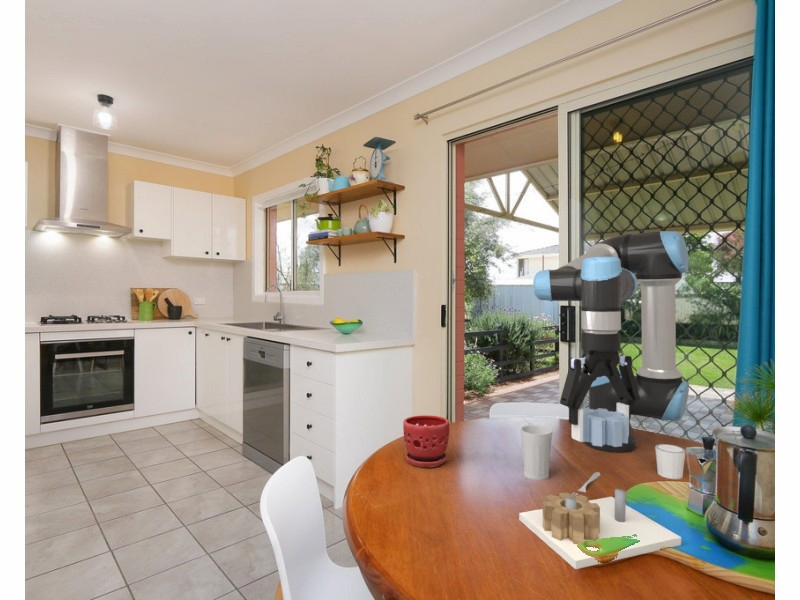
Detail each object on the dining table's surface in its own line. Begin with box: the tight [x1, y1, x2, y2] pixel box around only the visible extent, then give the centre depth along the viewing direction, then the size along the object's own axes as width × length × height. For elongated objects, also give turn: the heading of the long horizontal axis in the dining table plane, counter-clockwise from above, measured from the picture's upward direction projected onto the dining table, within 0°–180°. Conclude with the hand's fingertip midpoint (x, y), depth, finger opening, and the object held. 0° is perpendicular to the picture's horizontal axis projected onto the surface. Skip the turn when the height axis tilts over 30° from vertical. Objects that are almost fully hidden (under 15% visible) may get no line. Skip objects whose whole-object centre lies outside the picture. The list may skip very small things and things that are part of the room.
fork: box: [569, 471, 601, 497], centre depth 115 cm, size 3×24×2 cm, turn 142°
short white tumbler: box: [654, 443, 686, 480], centre depth 120 cm, size 7×7×7 cm
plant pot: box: [402, 414, 450, 469], centre depth 131 cm, size 13×13×12 cm
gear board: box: [518, 488, 682, 570], centre depth 93 cm, size 24×18×8 cm
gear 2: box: [580, 407, 628, 447], centre depth 96 cm, size 10×10×5 cm
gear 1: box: [542, 492, 600, 544], centre depth 91 cm, size 10×10×5 cm
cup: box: [520, 424, 553, 481], centre depth 121 cm, size 8×8×12 cm
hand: (600, 437), depth 96 cm, fingers closed on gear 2, 10 cm apart
